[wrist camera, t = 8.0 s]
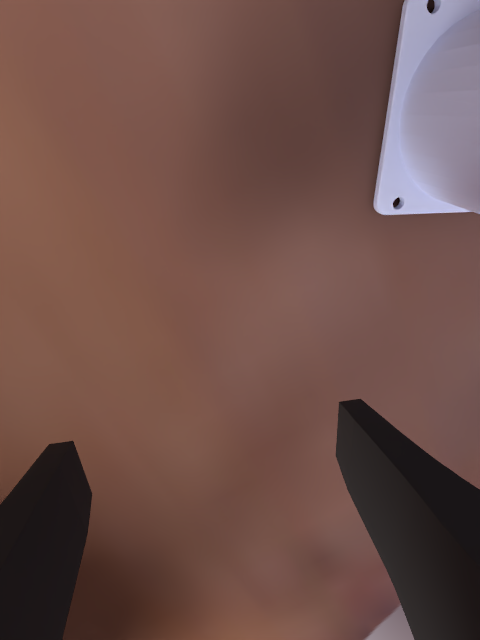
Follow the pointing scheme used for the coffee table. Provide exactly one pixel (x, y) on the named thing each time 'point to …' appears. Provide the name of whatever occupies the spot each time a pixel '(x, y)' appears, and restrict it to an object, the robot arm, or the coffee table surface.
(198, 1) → the coffee table surface
